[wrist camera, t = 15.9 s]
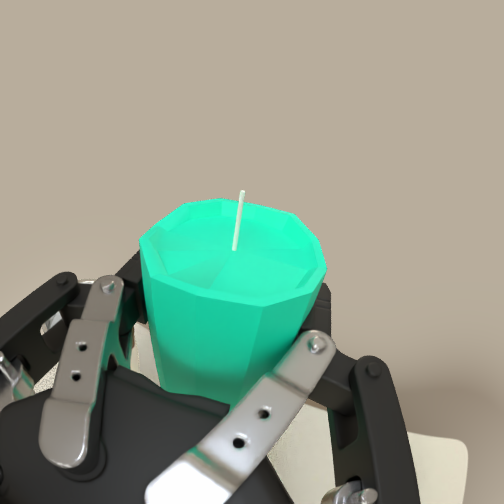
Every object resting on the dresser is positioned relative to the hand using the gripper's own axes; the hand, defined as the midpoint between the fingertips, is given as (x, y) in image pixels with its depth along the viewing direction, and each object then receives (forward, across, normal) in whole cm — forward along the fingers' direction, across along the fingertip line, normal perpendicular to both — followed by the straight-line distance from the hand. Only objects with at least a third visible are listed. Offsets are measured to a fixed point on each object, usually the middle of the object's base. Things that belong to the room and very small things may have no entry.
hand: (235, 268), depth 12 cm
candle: (-3, 0, +8) cm, 8 cm away
